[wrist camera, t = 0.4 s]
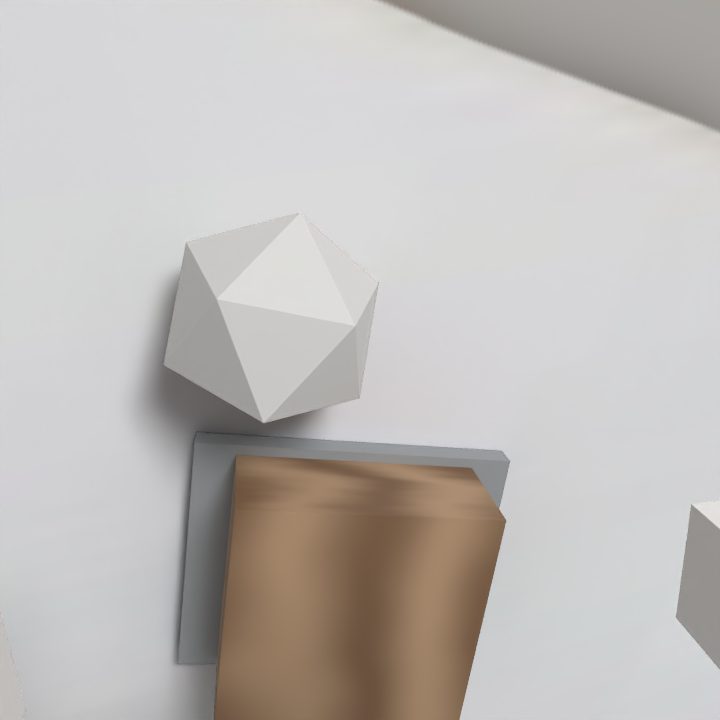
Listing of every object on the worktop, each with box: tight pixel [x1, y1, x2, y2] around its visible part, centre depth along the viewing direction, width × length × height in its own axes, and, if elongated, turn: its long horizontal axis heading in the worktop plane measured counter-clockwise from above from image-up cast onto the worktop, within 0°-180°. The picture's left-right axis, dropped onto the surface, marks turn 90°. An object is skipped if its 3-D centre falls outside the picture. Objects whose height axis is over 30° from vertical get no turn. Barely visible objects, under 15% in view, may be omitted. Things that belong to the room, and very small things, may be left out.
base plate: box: [178, 432, 510, 664], centre depth 37 cm, size 16×13×1 cm
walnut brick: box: [214, 455, 506, 720], centre depth 34 cm, size 12×12×5 cm
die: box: [163, 212, 379, 423], centre depth 29 cm, size 8×9×10 cm
